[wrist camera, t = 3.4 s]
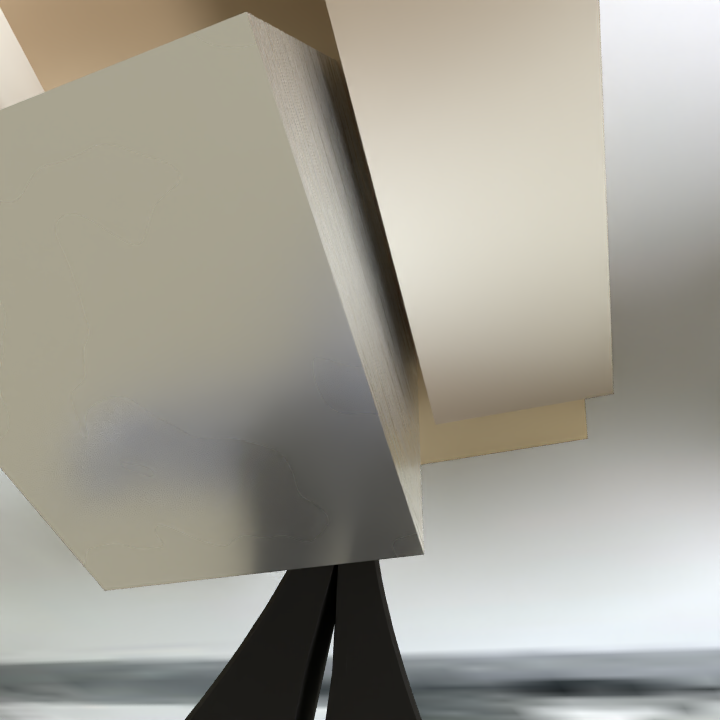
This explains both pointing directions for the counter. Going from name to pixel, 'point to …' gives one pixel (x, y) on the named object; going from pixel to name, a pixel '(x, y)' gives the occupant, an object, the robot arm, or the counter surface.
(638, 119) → the counter surface
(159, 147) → the grey box
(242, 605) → the counter surface
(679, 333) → the counter surface
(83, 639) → the counter surface
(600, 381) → the stand
